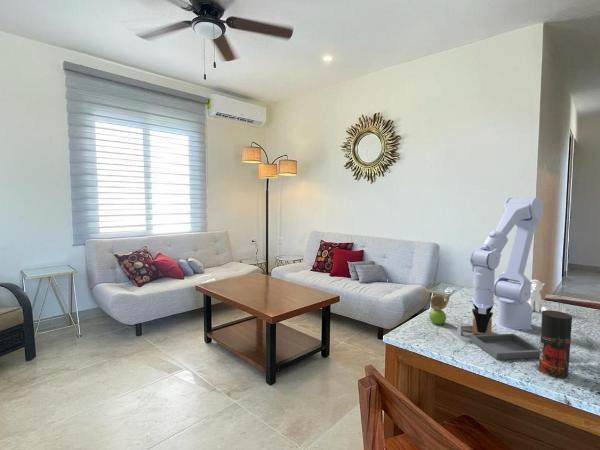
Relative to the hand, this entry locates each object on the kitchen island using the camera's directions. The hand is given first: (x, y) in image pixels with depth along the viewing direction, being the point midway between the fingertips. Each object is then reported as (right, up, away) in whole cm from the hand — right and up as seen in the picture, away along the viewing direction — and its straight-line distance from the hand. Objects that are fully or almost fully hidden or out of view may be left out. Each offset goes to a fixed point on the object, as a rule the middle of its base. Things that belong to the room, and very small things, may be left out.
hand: (481, 329), depth 107 cm
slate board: (-2, -2, 0) cm, 3 cm away
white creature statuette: (+33, 0, +24) cm, 41 cm away
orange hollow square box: (-1, -1, +1) cm, 2 cm away
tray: (+1, -3, -11) cm, 11 cm away
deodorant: (+6, -4, -22) cm, 23 cm away
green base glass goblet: (-10, -2, +9) cm, 14 cm away
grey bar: (-3, -1, 0) cm, 4 cm away
